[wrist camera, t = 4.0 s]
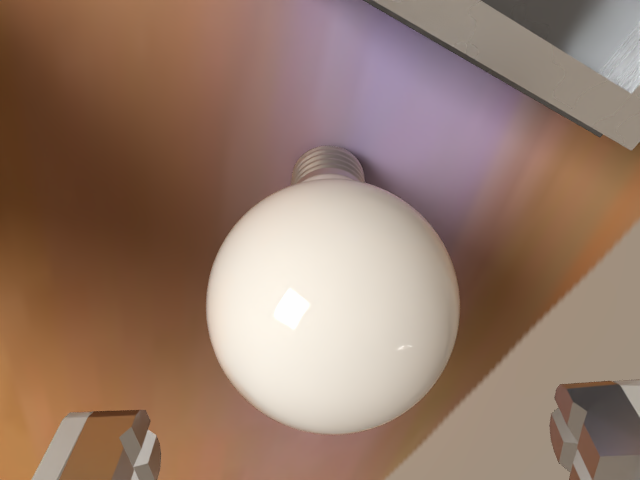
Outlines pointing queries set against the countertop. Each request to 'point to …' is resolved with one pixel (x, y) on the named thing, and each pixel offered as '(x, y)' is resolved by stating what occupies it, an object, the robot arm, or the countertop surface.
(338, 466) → the countertop surface
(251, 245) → the lightbulb
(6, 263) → the countertop surface
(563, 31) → the socket
